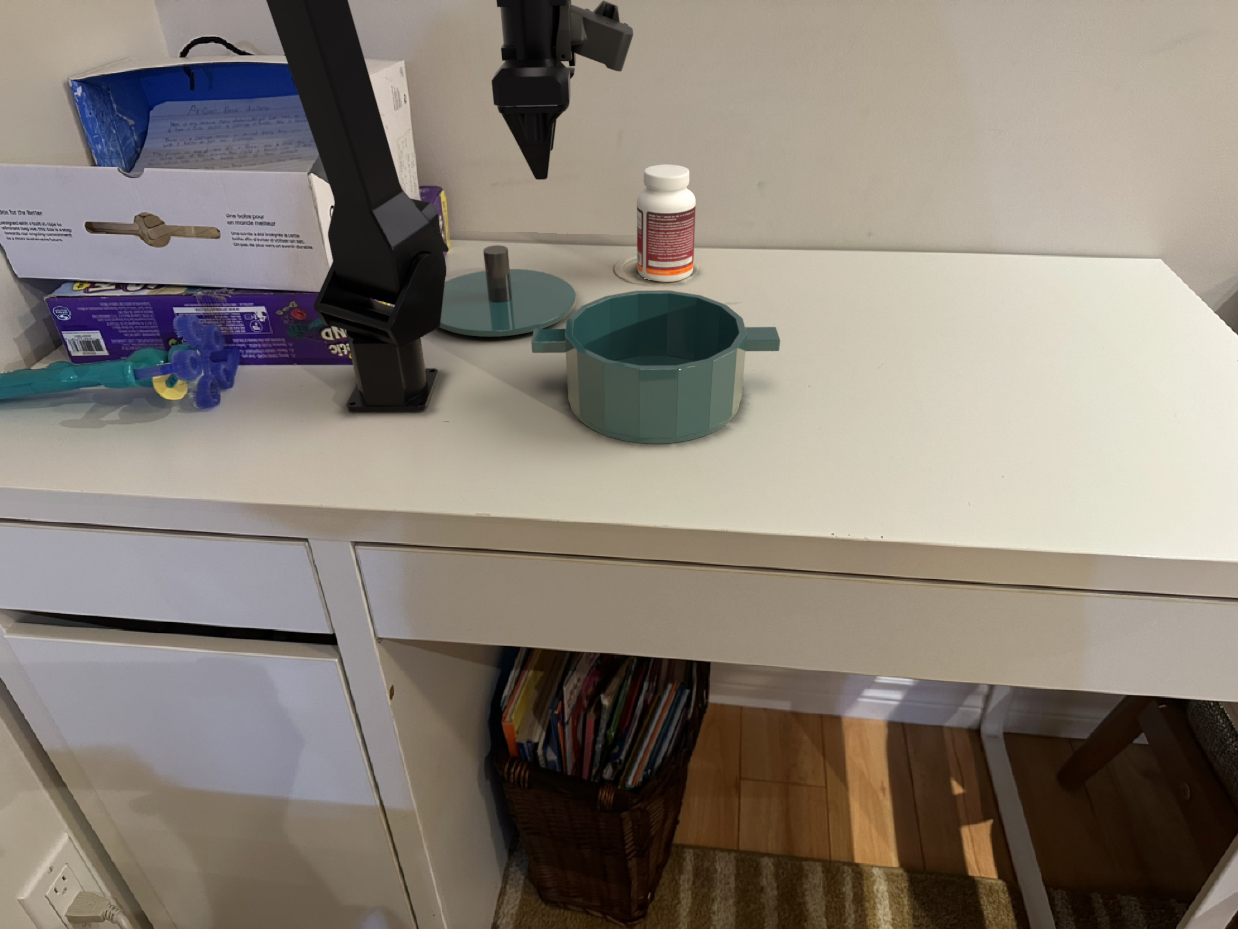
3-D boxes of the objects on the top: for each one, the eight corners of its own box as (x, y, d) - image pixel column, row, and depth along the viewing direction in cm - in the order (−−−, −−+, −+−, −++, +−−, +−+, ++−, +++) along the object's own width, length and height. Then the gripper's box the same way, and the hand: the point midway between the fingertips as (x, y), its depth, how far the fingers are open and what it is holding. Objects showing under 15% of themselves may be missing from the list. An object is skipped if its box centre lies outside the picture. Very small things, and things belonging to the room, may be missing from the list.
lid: (572, 341, 79) (569, 279, 75) (411, 343, 79) (400, 280, 76) (579, 278, 91) (577, 222, 88) (439, 279, 92) (431, 223, 88)
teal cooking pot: (784, 443, 65) (794, 368, 61) (529, 444, 65) (523, 370, 61) (760, 356, 76) (766, 289, 72) (543, 358, 76) (539, 291, 73)
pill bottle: (704, 272, 92) (710, 170, 86) (666, 288, 89) (668, 183, 83) (663, 257, 96) (665, 158, 90) (625, 272, 93) (624, 170, 86)
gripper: (629, -14, 63) (631, 193, 72) (625, -39, 79) (627, 135, 88) (481, -10, 63) (502, 196, 73) (505, -36, 79) (520, 138, 88)
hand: (544, 164), depth 80 cm, fingers open, 9 cm apart
